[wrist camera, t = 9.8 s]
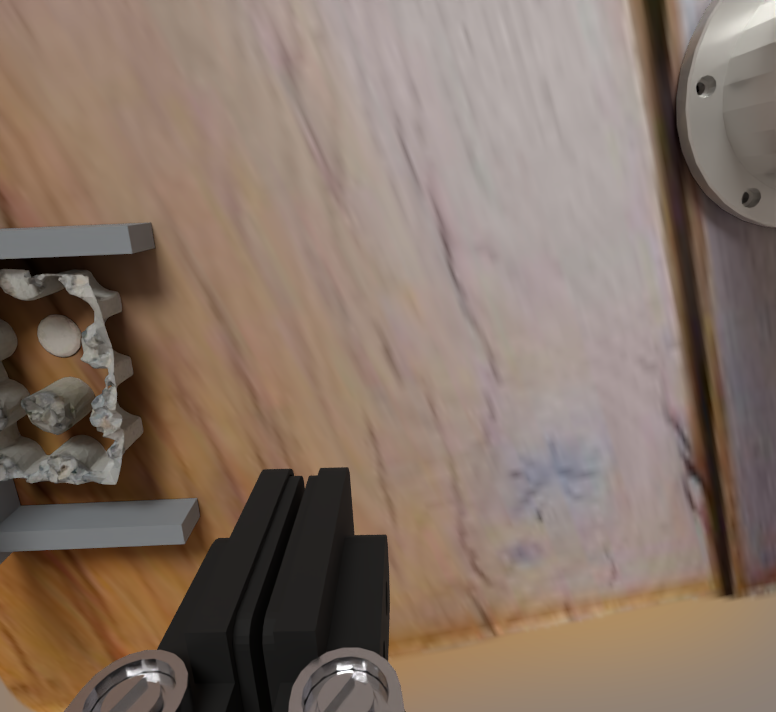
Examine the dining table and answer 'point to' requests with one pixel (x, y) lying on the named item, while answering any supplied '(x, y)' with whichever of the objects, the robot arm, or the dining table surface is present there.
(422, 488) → the dining table surface
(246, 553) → the robot arm
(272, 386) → the dining table surface
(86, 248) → the display stand
